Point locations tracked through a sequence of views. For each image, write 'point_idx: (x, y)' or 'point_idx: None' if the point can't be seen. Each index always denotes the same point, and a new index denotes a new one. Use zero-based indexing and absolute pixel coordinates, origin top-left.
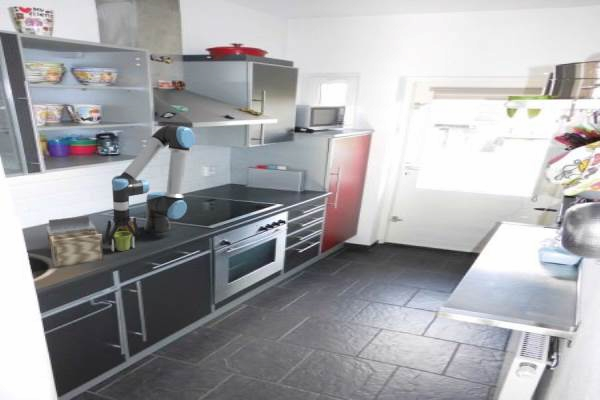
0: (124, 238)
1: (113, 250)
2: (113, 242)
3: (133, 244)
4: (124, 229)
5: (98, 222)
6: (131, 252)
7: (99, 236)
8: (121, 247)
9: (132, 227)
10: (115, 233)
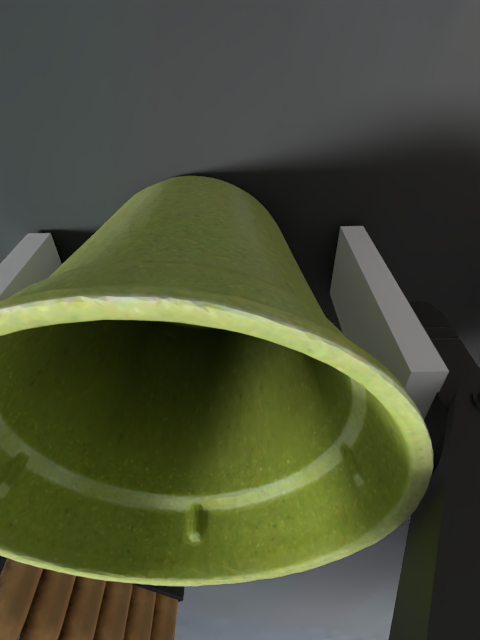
0: (139, 275)
1: (351, 231)
2: (389, 318)
3: (15, 263)
4: (123, 587)
5: (252, 629)
6: (74, 37)
7: None
8: (238, 204)
9: (9, 613)
10: (296, 548)
